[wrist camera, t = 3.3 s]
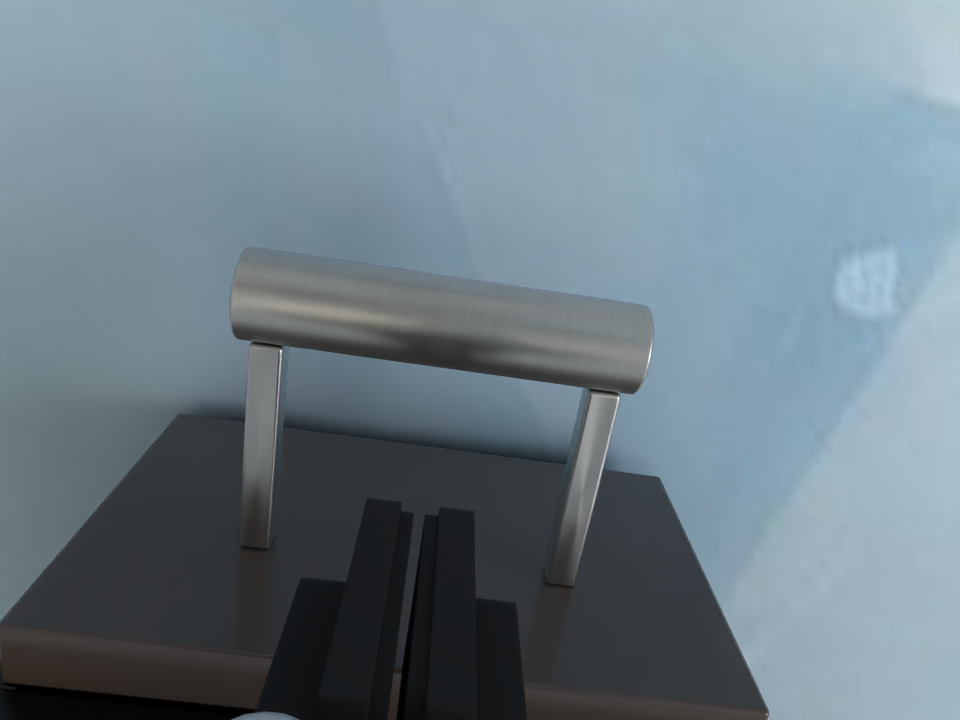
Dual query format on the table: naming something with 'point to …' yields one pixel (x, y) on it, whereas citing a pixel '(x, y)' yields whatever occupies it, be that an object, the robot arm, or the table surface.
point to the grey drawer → (422, 490)
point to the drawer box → (84, 706)
